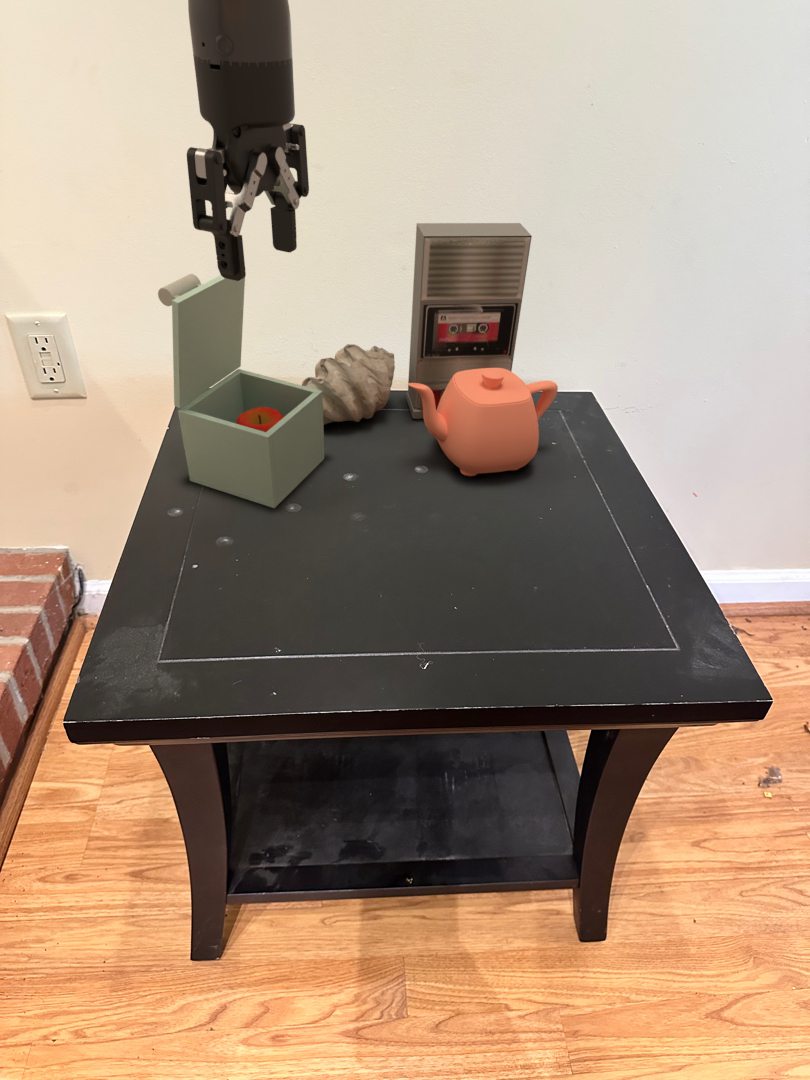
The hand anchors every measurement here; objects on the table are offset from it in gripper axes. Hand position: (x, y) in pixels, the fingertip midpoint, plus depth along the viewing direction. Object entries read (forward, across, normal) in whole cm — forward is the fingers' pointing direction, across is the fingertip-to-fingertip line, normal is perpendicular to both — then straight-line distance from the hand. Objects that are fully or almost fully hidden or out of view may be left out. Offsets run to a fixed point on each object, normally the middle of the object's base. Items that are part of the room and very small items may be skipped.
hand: (260, 263), depth 66 cm
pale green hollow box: (+29, -7, -8) cm, 31 cm away
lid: (+13, -7, -12) cm, 19 cm away
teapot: (+29, -23, +16) cm, 41 cm away
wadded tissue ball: (+29, -24, -4) cm, 38 cm away
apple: (+28, -7, -7) cm, 30 cm away
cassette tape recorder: (+29, -34, +9) cm, 46 cm away
